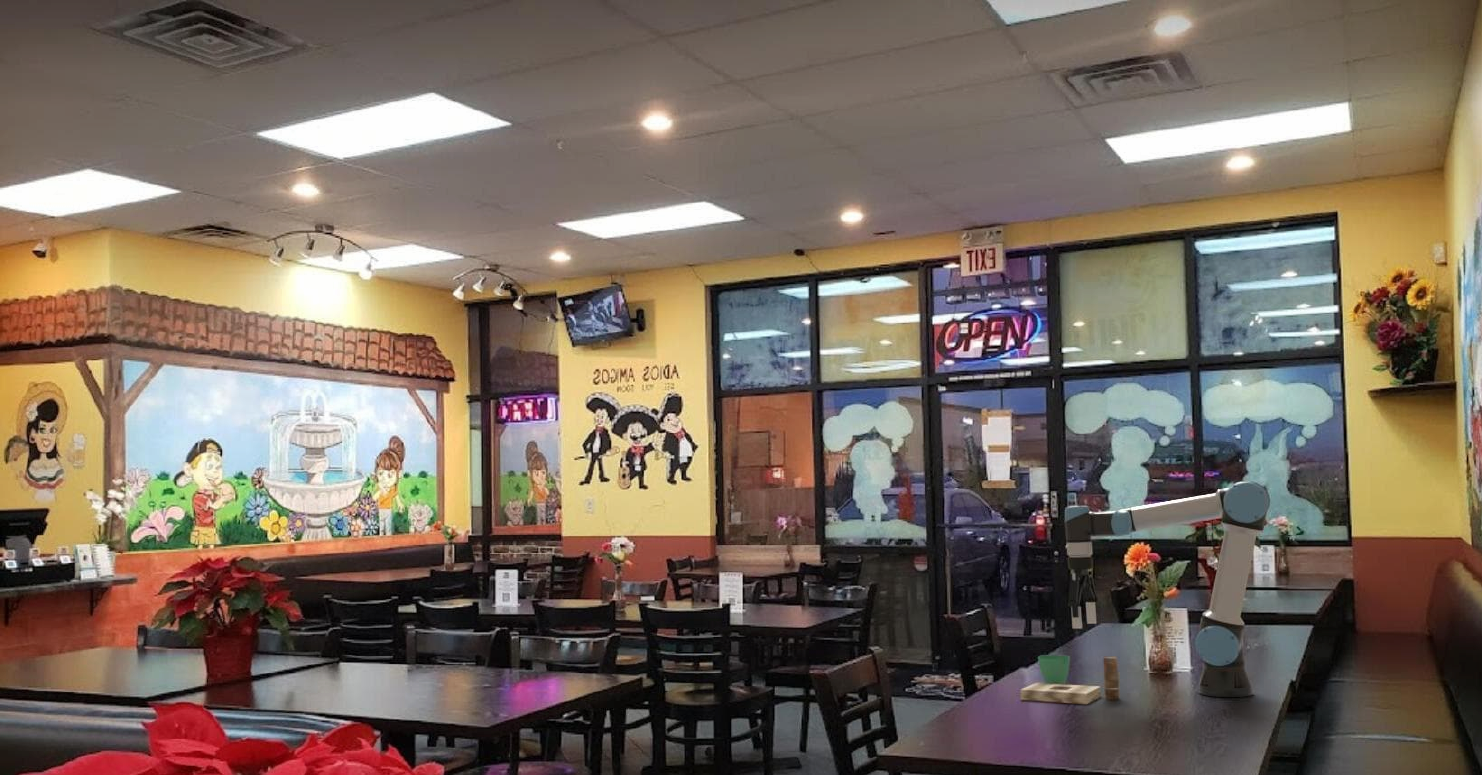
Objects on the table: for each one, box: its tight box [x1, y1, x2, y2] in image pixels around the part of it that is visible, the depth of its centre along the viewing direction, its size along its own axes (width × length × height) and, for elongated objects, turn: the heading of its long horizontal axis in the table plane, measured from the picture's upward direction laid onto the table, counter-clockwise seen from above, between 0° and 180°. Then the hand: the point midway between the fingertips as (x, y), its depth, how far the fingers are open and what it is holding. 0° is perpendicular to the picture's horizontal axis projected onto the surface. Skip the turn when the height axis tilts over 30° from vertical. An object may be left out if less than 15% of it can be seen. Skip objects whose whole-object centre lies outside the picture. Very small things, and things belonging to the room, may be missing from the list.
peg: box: [1102, 656, 1120, 701], centre depth 359 cm, size 4×4×12 cm
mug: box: [1037, 654, 1071, 684], centre depth 381 cm, size 15×10×10 cm
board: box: [1020, 682, 1102, 705], centre depth 362 cm, size 20×14×3 cm
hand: (1084, 625), depth 368 cm, fingers open, 13 cm apart
